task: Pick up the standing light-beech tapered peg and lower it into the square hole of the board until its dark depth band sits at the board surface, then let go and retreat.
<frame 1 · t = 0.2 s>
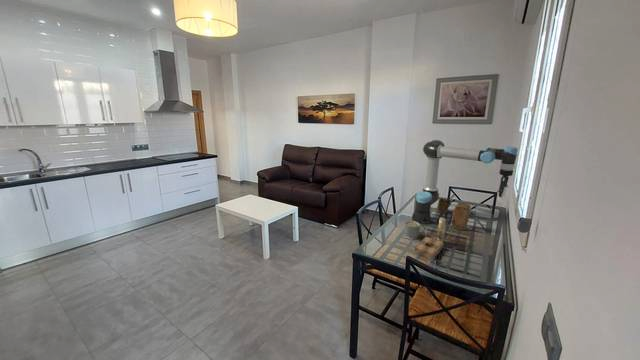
hand: (500, 198, 182), 28 cm above the table, fingers open, 13 cm apart
peg: (439, 242, 179), on the table
board: (429, 250, 170), on the table
block: (458, 228, 199), on the table
coffee mug: (413, 236, 187), on the table
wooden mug: (444, 211, 227), on the table
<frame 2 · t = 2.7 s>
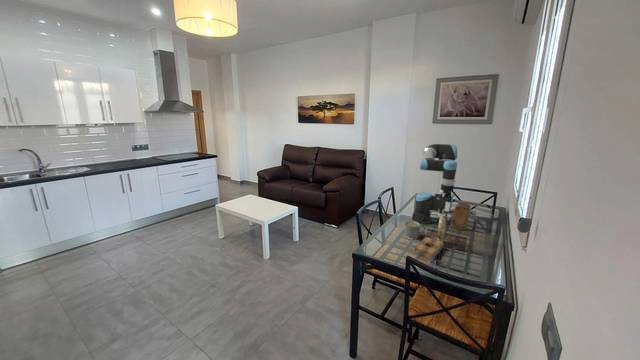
hand: (443, 214, 173), 22 cm above the table, fingers open, 13 cm apart
nothing on the table moved.
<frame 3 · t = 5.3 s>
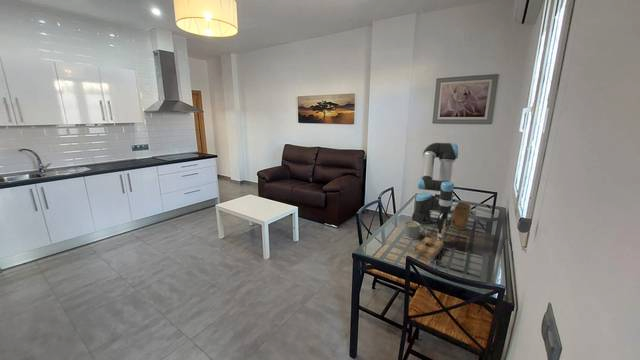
hand: (440, 235, 178), 5 cm above the table, fingers closed on peg, 4 cm apart
peg: (439, 242, 179), on the table, touching gripper
everything else where it was.
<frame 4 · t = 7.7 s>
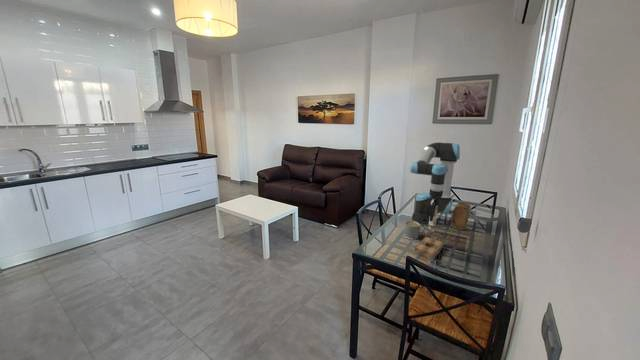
hand: (432, 223, 164), 20 cm above the table, fingers closed on peg, 4 cm apart
peg: (431, 230, 166), point 14 cm above the table, touching gripper
everything else where it was.
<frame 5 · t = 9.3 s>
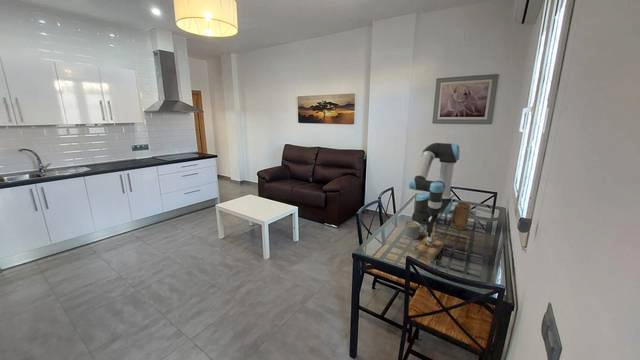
hand: (430, 239, 167), 8 cm above the table, fingers closed on peg, 4 cm apart
peg: (429, 246, 169), point 3 cm above the table, touching gripper
everything else where it was.
when the fingers open (6 cm above the table, at t = 10.6 s): peg stays where it is, resting in board.
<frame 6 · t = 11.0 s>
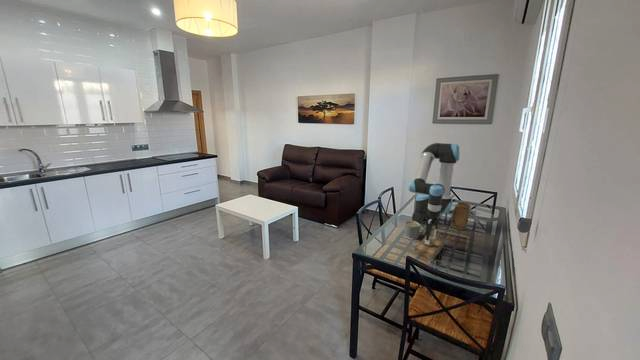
hand: (430, 240, 168), 7 cm above the table, fingers open, 10 cm apart
peg: (429, 250, 170), resting in board
everything else where it was.
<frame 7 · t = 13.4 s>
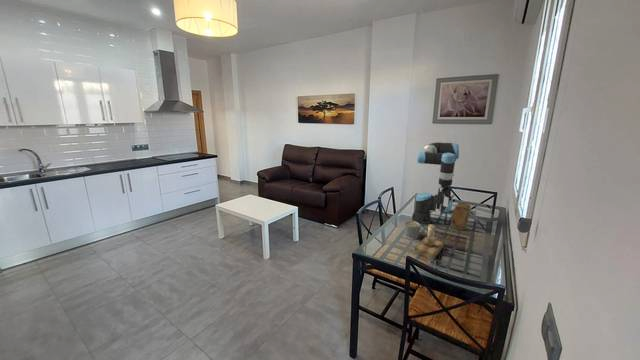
hand: (441, 209, 165), 28 cm above the table, fingers open, 13 cm apart
nothing on the table moved.
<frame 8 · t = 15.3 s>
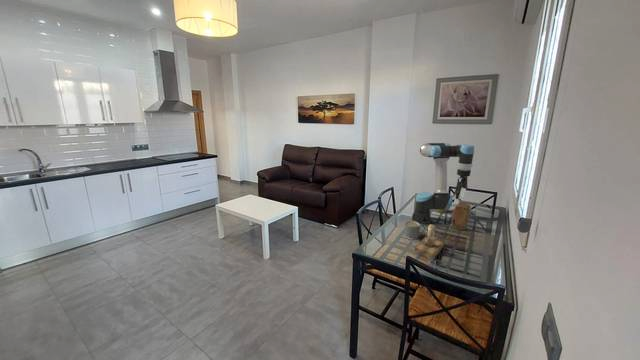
hand: (459, 200, 170), 32 cm above the table, fingers open, 13 cm apart
nothing on the table moved.
at the end: peg 0.0 cm off-centre on the board, point 0.0 cm above the board's base; peg tilted 0°; the gripper is holding nothing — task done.
